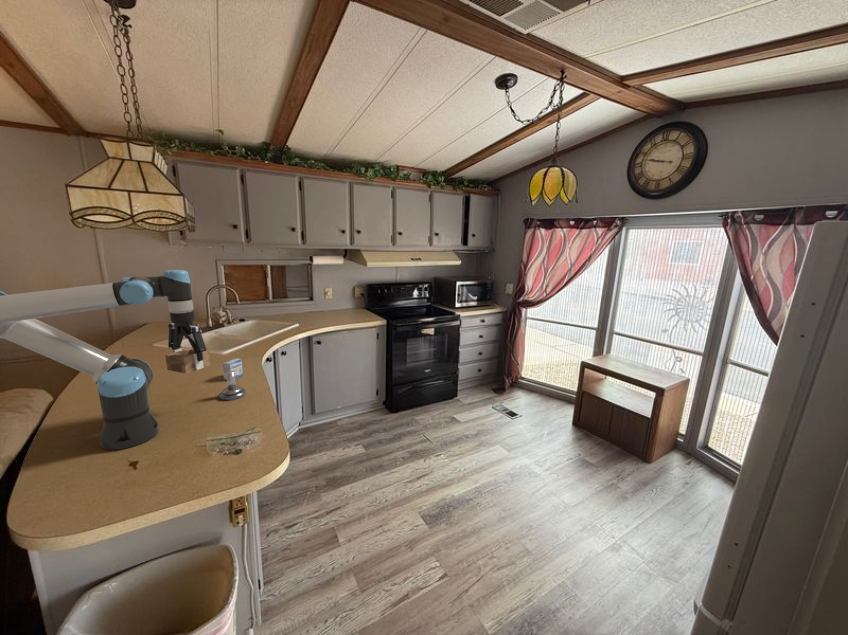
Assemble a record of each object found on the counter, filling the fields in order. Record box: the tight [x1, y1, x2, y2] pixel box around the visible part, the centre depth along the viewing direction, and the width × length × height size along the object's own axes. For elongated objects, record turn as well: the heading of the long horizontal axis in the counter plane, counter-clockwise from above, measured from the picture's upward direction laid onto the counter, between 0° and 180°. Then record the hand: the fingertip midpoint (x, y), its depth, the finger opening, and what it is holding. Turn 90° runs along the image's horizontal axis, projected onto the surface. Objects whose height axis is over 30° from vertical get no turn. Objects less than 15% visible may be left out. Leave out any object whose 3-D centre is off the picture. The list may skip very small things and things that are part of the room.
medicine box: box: [222, 358, 244, 381], centre depth 165 cm, size 8×4×9 cm, turn 168°
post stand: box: [218, 371, 246, 402], centre depth 145 cm, size 10×10×11 cm
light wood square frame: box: [165, 347, 212, 375], centre depth 129 cm, size 10×10×6 cm
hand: (189, 366), depth 130 cm, fingers closed on light wood square frame, 10 cm apart
